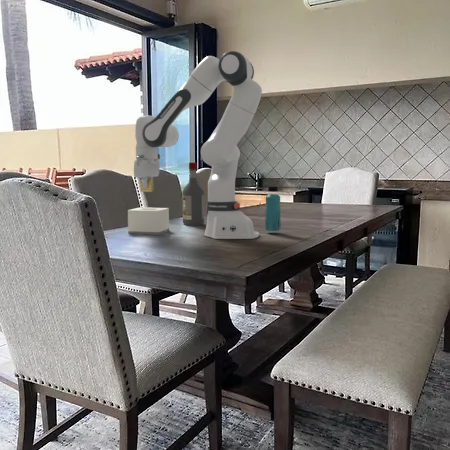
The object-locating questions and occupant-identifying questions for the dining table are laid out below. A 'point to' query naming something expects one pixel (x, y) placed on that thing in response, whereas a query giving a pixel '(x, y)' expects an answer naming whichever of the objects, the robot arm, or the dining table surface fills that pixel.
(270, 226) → the beverage bottle
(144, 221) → the money box
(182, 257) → the dining table surface
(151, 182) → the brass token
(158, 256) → the dining table surface
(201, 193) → the liquor
